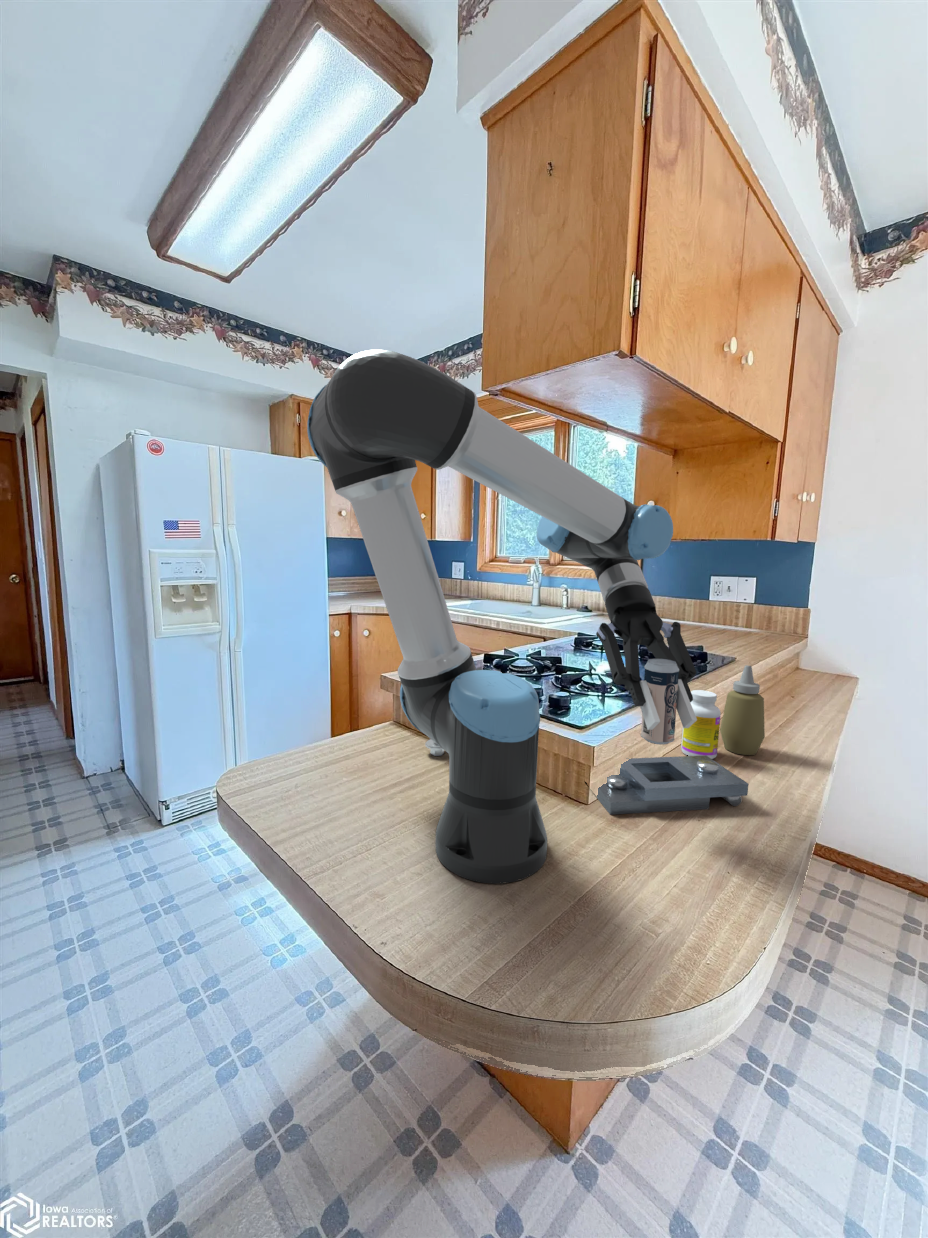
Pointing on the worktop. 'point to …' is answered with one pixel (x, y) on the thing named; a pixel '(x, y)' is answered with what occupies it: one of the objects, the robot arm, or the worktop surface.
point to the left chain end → (626, 800)
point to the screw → (434, 748)
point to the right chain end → (684, 779)
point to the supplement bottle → (702, 726)
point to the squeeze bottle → (743, 716)
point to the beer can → (662, 699)
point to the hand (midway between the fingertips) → (672, 724)
